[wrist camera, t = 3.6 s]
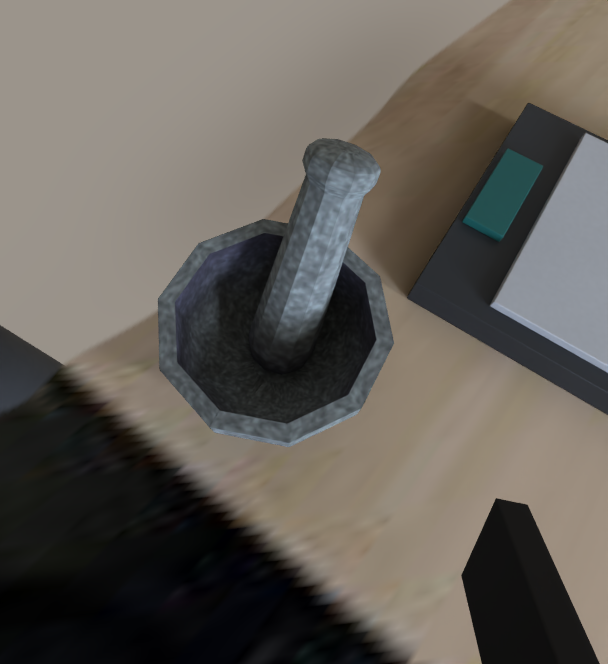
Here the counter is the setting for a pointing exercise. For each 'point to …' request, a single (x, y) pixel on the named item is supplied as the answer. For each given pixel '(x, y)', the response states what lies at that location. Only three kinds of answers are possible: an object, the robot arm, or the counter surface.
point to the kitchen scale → (533, 256)
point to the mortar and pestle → (281, 313)
